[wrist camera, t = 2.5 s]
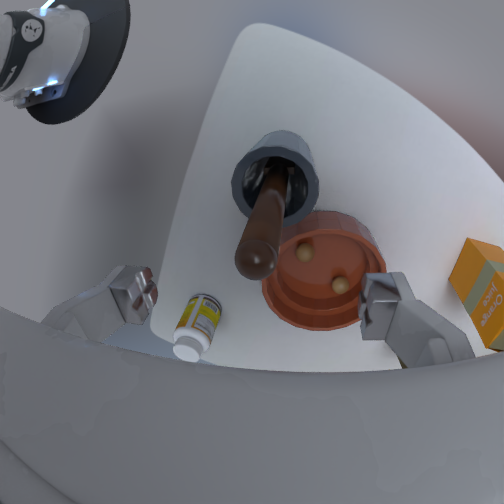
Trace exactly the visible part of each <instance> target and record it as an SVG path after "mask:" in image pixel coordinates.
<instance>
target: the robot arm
mask: <svg viewBox="0 0 504 504" xmlns="http://www.w3.org/2000/svg"><path fill="white" fill-rule="evenodd" d="M52 2H54V0H49V1H48V2H47V3H46V4H45V5H44V6H43V7H42V8H33V9H29V10H28V11H27V12H26V11H13V12H7V13H5V14H3V15H0V98H1V100H2V101H10V100H14V106H16V107H17V108H18V109H23V108H26V107H30V106H33V105H36V104H40V103H43V102H47V101H51V100H55V99H59V98H63V97H64V96H65V94H66V92H67V89H68V86H69V83H70V80H71V78H72V76H73V75H74V73H75V72H76V70H77V69H78V67H79V65H80V64H81V62H82V60H83V57H84V55H85V53H86V50H87V46H88V43H89V37H90V23H89V20H88V17H87V16H86V14H85V13H84V12H82V11H80V10H71V9H70V8H69V7H68V6H67V5H59V6H58V7H56V8H47V7H48V6H49V5H50V4H51V3H52ZM152 277H153V275H152V272H151V270H150V268H148V267H142V266H127V265H118V266H116V267H115V268H114V269H113V270H112V271H111V272H110V273H109V274H108V276H107V277H106V278H105V279H104V280H103V281H102V282H101V283H100V284H99V286H94V287H92V288H91V289H88V290H86V291H85V292H83V293H81V294H79V295H77V296H75V297H73V298H71V299H69V300H67V301H65V302H63V303H61V304H60V305H57V306H55V307H54V308H53V309H52V310H51V311H50V312H49V314H48V315H47V316H46V317H45V318H44V319H43V320H42V322H41V323H38V322H36V321H33V320H30V319H28V318H25V317H23V316H20V315H18V314H16V313H13V312H11V311H9V310H6V309H4V308H2V307H0V504H504V351H502V352H498V353H494V354H490V355H485V356H481V357H475V354H474V352H473V350H472V347H471V345H470V343H469V341H468V338H467V336H466V334H465V333H464V332H463V331H461V330H460V329H459V328H457V327H456V326H455V325H453V324H452V323H451V322H449V321H448V320H447V319H445V318H444V317H443V316H441V315H440V314H438V313H437V312H436V311H434V310H433V309H432V308H430V307H429V306H427V305H426V304H425V303H423V302H422V301H420V300H416V299H415V296H414V294H413V292H412V290H411V288H410V286H409V284H408V281H407V279H406V277H405V275H404V273H402V272H389V273H363V276H362V280H361V285H362V290H361V291H360V292H359V296H358V305H357V309H358V317H359V318H360V319H361V320H362V321H361V325H360V328H361V334H362V339H363V340H385V342H386V343H387V344H388V345H389V346H390V348H391V349H392V350H393V351H394V352H395V353H396V355H397V356H398V357H399V358H400V359H401V360H402V362H403V363H404V364H405V365H406V366H407V367H408V368H405V369H394V370H381V371H365V372H286V371H268V370H255V369H244V368H234V367H225V366H217V365H208V364H202V363H195V362H188V361H182V360H176V359H171V358H165V357H160V356H154V355H150V354H145V353H141V352H136V351H132V350H127V349H123V348H119V347H115V346H111V345H107V344H104V343H101V342H102V341H103V340H105V339H106V338H108V337H109V336H110V335H112V334H113V333H114V332H115V331H117V330H118V329H119V328H120V327H122V326H123V325H125V323H131V324H138V325H143V323H144V322H145V320H146V318H147V317H148V315H149V312H148V310H149V309H151V308H152V307H154V305H155V304H156V302H157V297H158V291H157V287H156V285H155V284H154V282H153V281H152V280H151V279H152Z"/></svg>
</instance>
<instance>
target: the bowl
mask: <svg viewBox="0 0 504 504" xmlns="http://www.w3.org/2000/svg"><path fill="white" fill-rule="evenodd" d="M302 243H308V244H310V245H312V247H313V248H314V251H315V255H314V257H313V259H312V260H311V261H309V262H301V261H299V260H298V259H297V257H296V253H295V252H296V248H297V247H298V246H299V245H300V244H302ZM363 273H387V271H386V264H385V261H384V259H383V256H382V254H381V252H380V250H379V248H378V245H377V243H376V241H375V240H374V238H373V236H372V235H371V233H370V231H369V230H368V229H367V228H366V227H365V226H364V225H363V224H361V223H360V222H359V221H358V220H356V219H355V218H353V217H351V216H348V215H345V214H342V213H339V212H336V211H315V212H312V213H309V214H308V215H307V216H306V217H305V218H304V219H303V220H302V221H299V223H296V224H293V225H291V226H288V227H285V228H282V234H281V241H280V248H279V256H278V262H277V266H276V269H275V270H274V272H273V273H272V274H271V275H270V276H268V277H267V278H265V279H262V293H263V296H264V298H265V300H266V302H267V304H268V306H269V308H270V309H271V310H272V311H273V312H274V313H275V314H276V315H277V316H278V317H279V318H280V319H282V320H284V321H286V322H287V323H289V324H291V325H293V326H295V327H299V328H303V329H307V330H312V331H331V330H335V329H340V328H344V327H347V326H349V325H351V324H353V323H356V322H358V321H360V320H361V319H360V318H359V317H358V309H357V305H358V296H359V292H360V291H361V290H362V285H361V280H362V276H363ZM338 276H343V277H345V278H346V279H347V280H348V281H349V288H348V290H347V291H346V292H345V293H343V294H338V293H336V292H334V290H333V289H332V282H333V280H334V279H335V278H336V277H338Z"/></svg>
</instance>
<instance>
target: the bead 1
mask: <svg viewBox="0 0 504 504" xmlns="http://www.w3.org/2000/svg"><path fill="white" fill-rule="evenodd" d="M295 253H296V257H297V259H298V260H299V261H301V262H309V261H311V260H312V259H313V257H314V255H315V251H314V248H313V247H312V245H310V244H308V243H302V244H300V245H299V246H298V247H297V248H296V252H295Z"/></svg>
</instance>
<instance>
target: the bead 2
mask: <svg viewBox="0 0 504 504" xmlns="http://www.w3.org/2000/svg"><path fill="white" fill-rule="evenodd" d="M348 288H349V281H348V280H347V279H346V278H345V277H343V276H338V277H336V278H335V279H334V280H333V282H332V289H333V290H334V292H336V293H338V294H343V293H345V292H346V291H347V290H348Z"/></svg>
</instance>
